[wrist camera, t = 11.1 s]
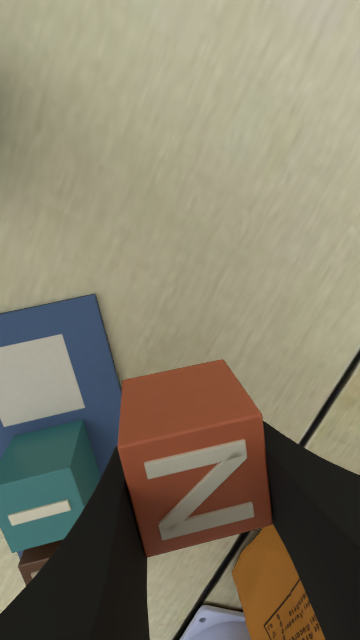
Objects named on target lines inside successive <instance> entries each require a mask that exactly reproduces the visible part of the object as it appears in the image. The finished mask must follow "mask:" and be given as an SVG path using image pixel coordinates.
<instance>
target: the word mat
mask: <svg viewBox="0 0 360 640" xmlns="http://www.w3.org/2000/svg"><path fill="white" fill-rule="evenodd" d="M121 394H122V391H121V387H120V384H119V380H118V376H117V372H116V369H115V365H114V361H113V358H112V354H111V350H110V346H109V343H108V339H107V335H106V332H105V328H104V324H103V320H102V317H101V313H100V309H99V306H98V302H97V298H96V295H95V294H91V295H86V296H82V297H77V298H72V299H67V300H63V301H58V302H53V303H48V304H43V305H39V306H34V307H29V308H24V309H20V310H15V311H10V312H5V313H0V459H1V458H2V456H3V454H4V452H5V451H6V449H7V447H8V445H9V444H10V442H11V440H12V439H13V437H14V436H17V435H21V434H25V433H29V432H33V431H37V430H41V429H46V428H50V427H54V426H58V425H62V424H66V423H70V422H75V421H79V420H83V421H84V424H85V427H86V431H87V434H88V437H89V440H90V443H91V446H92V449H93V452H94V456H95V459H96V462H97V465H98V468H99V471H100V478H101V476H102V474H103V472H104V470H105V468H106V466H107V464H108V462H109V460H110V457H111V455H112V453H113V450H114V449H115V447H116V446H118V434H119V421H120V408H121ZM99 480H100V479H99ZM17 553H18V555H19V557H20V559H21V556H22V553H23V550H21V551H18V552H17Z"/></svg>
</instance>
